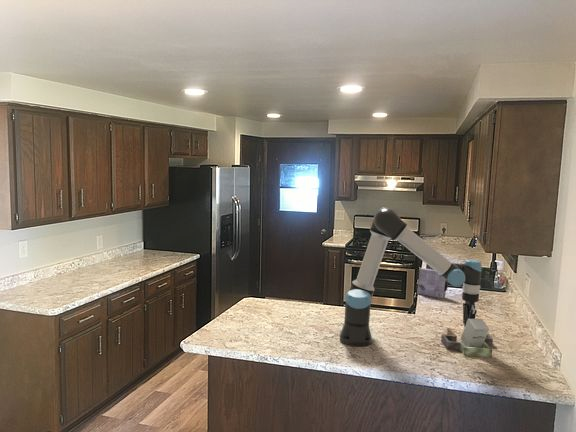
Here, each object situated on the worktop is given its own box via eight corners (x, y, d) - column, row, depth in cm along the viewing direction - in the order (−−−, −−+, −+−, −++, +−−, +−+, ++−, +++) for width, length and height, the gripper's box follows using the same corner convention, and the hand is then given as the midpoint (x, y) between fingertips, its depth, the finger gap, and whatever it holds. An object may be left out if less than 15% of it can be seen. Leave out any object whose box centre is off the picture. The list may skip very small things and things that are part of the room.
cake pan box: (447, 297, 320) (449, 271, 319) (445, 299, 316) (447, 272, 315) (418, 292, 331) (420, 267, 329) (416, 294, 326) (418, 268, 325)
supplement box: (466, 349, 224) (474, 328, 218) (460, 338, 230) (467, 318, 224) (481, 349, 225) (489, 329, 219) (474, 338, 231) (482, 318, 225)
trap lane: (450, 354, 217) (451, 346, 216) (435, 334, 244) (435, 327, 243) (504, 357, 215) (505, 350, 215) (483, 337, 243) (484, 330, 242)
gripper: (483, 296, 223) (479, 345, 225) (474, 289, 236) (470, 336, 238) (467, 295, 223) (463, 344, 226) (458, 288, 236) (454, 335, 238)
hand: (466, 340), depth 232 cm, fingers closed
